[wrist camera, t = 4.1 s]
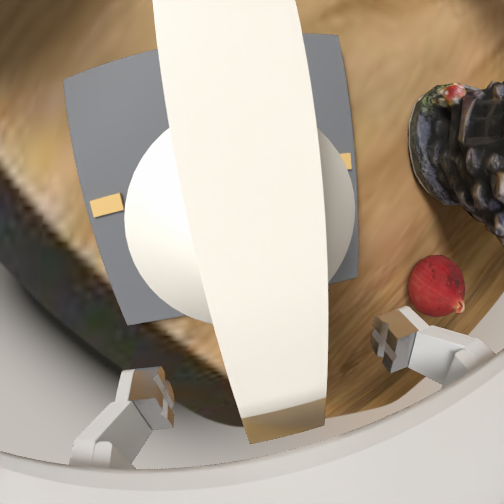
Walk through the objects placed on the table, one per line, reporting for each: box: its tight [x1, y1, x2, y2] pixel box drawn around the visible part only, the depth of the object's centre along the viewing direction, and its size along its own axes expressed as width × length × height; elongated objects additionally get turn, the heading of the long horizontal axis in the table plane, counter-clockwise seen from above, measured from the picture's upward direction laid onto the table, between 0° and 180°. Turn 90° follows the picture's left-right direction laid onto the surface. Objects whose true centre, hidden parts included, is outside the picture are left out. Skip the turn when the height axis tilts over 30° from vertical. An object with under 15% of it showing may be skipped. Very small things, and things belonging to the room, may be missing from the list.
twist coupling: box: [124, 0, 355, 444], centre depth 9 cm, size 15×8×6 cm, turn 8°
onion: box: [408, 255, 465, 317], centre depth 24 cm, size 6×6×8 cm
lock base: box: [63, 34, 358, 325], centre depth 17 cm, size 20×20×10 cm
